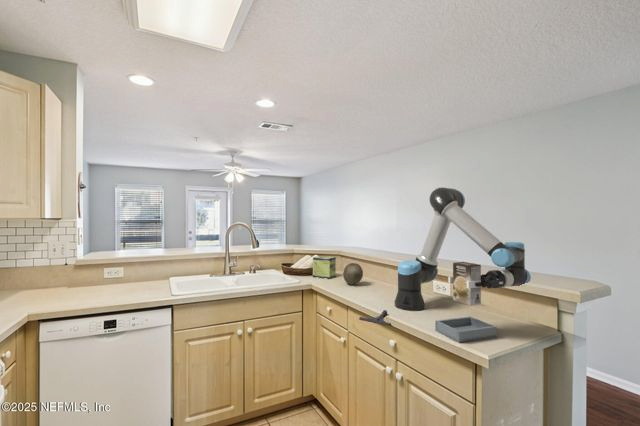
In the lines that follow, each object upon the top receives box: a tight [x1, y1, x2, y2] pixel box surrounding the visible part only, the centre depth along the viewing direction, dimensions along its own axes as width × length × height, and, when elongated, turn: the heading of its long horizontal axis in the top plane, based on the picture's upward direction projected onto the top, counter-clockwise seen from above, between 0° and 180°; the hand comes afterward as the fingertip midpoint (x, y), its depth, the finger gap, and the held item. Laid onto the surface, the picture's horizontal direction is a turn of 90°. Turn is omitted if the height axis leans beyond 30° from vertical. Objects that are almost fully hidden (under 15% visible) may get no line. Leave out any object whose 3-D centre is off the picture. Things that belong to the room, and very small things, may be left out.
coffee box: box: [452, 261, 482, 306], centre depth 125 cm, size 9×6×16 cm
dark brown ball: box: [342, 262, 364, 286], centre depth 209 cm, size 14×14×15 cm
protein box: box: [312, 256, 337, 280], centre depth 237 cm, size 10×16×16 cm
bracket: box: [358, 309, 392, 327], centre depth 139 cm, size 14×15×3 cm
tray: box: [434, 316, 497, 344], centre depth 121 cm, size 13×18×4 cm
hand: (458, 282), depth 123 cm, fingers closed on coffee box, 9 cm apart
